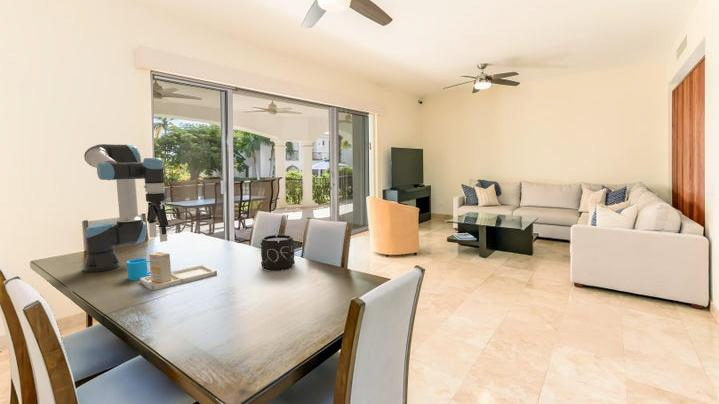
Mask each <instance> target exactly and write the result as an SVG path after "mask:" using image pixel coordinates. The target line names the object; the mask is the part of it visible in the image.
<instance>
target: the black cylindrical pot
mask: <svg viewBox="0 0 719 404" xmlns="http://www.w3.org/2000/svg"><path fill="white" fill-rule="evenodd" d="M294 244H295V241H294V239H293V236H291V235H289V234H277V235H276V234H272V235H267V236H263V237H262V238H261V240H260V256H261V262H260V265H261V267H262V268H263V270H265V271H268V270H269V272H274V271H275V272H280V271H281V270H282V271H285V270H286V269H287V270H290V269H291V268H293V267H294V265H295V263H296V262H295V245H294ZM292 266H293V267H292ZM289 268H290V269H289Z"/></svg>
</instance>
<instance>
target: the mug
mask: <svg viewBox="0 0 719 404" xmlns="http://www.w3.org/2000/svg"><path fill="white" fill-rule="evenodd" d="M148 263H150V260H148V259H147V258H134V259H129V260H127V261H126V268H127V269H126V270H127V279H128V280H129V281H137V280H140V278H143V277H147V276H149V275H151V271H149V272H148Z"/></svg>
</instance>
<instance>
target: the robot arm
mask: <svg viewBox="0 0 719 404" xmlns="http://www.w3.org/2000/svg"><path fill="white" fill-rule="evenodd" d="M83 159H84V161H85V163H87V164H88V165H89V166H90V167H92V168H96V173H97V177H98V179H100V180H101V181H115V180H116V189H117V190H116V192H117V202H118V205H117V206H118V216H119V217H118V219H116V223H115V224H113V222H110V221H109V222H101V223H97V224H93V225H89V226H88V227H86V228H85V230H84V232H85V236H84V238H85V243H86V254H87V255H86V259H85V261H84V265H83V270H84V272H87V273H97V272H104V271H105V272H106V271H111V270H113V269H114V270H115V269H117V268H119V267H120V266H121V264H120V260H119V258H118V256H117V253H116V251H115V247H120V246H121V247H122V246H125V245H136V244H140V243H142V242H144V241H145V239H146V236H147V224H146V222H147V223H148V230H149V231H148V232H149V238H155V237H158V234H157V233H158V232H157V228H158V229H159V241H160V242H161V243H162V242H168V232H167V231H168V229H167V227H168V226H169V222H168V217H167V213H166V208H165V203H162V202H165V201H166V193H165V191H166V187H165V177H164V175H165V174H164V163H163V162H164V161H163V159H162V158H160V157H145V158H143V159H142V156H141V153H140V151H139V149H138V148H137V146H135V145H131V144H105V143H104V144H103V143H102V144H100V143H99V144H96V145H93V146H91V147H88V148H87V150H86V151H85V152H84V156H83ZM142 160H143V161H142ZM143 179H144V186H143V188H145V201H146V202H147V213H146V215H147V216H146V222H145V221H143V220H142V218H141V217H140V216H139V212H138V211H139V210H138V197H137V185H136V180H143ZM156 219H157V220H156ZM157 221H158V223H159V225H158V227H157Z"/></svg>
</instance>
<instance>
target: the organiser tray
mask: <svg viewBox="0 0 719 404" xmlns="http://www.w3.org/2000/svg"><path fill="white" fill-rule="evenodd" d="M217 275H218V270H215V269H213V268H211V267H209V266H207V265H205V264H200V265H199V264H198V265H194V266H190V267H186V268H181V269H176V270H171V280H172V281H169V282H164V283H157V282H152V281H151V275H148V276H147V277H143V278H140V279H139V281H140V282H139V283H141V284H142V285H144V286H145V287H146V288H147V289H148V290H150V291H151V292H152V291H153V292H154V291H156V290H161V289H165V288H168V287H173V286H176V285H181V284H185V283H188V282H192V281H193V282H194V281H197V280H201V279H206V278H209V277H210V278H211V277H214V276H217Z"/></svg>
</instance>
